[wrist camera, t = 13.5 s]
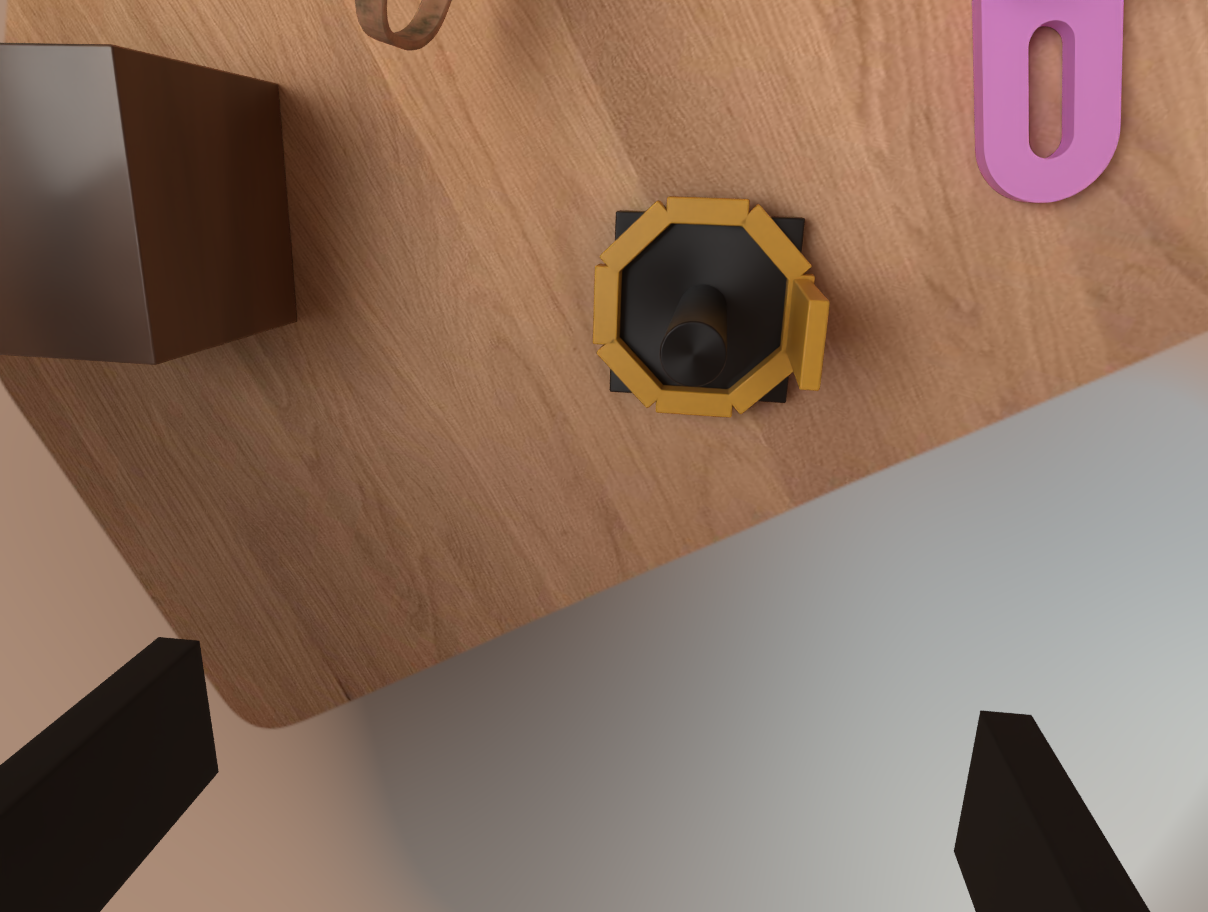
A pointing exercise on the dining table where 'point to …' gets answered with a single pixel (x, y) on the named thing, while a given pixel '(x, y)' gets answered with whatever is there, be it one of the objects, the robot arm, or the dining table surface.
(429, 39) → the mug
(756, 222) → the ring
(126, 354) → the block
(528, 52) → the dining table surface
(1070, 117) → the bracket
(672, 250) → the post
